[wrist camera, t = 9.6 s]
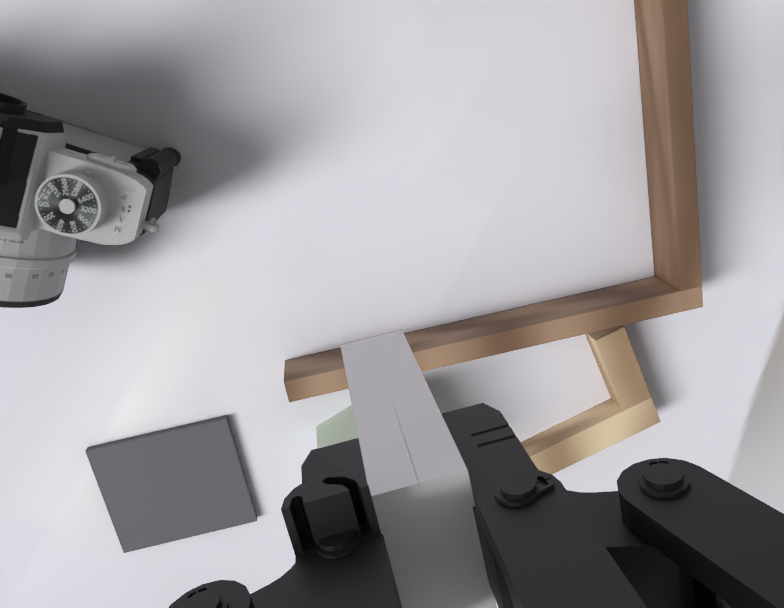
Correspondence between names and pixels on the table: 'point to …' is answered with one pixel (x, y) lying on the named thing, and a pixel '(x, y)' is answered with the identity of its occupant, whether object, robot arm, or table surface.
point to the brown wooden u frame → (603, 306)
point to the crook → (599, 408)
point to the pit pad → (173, 483)
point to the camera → (68, 198)
